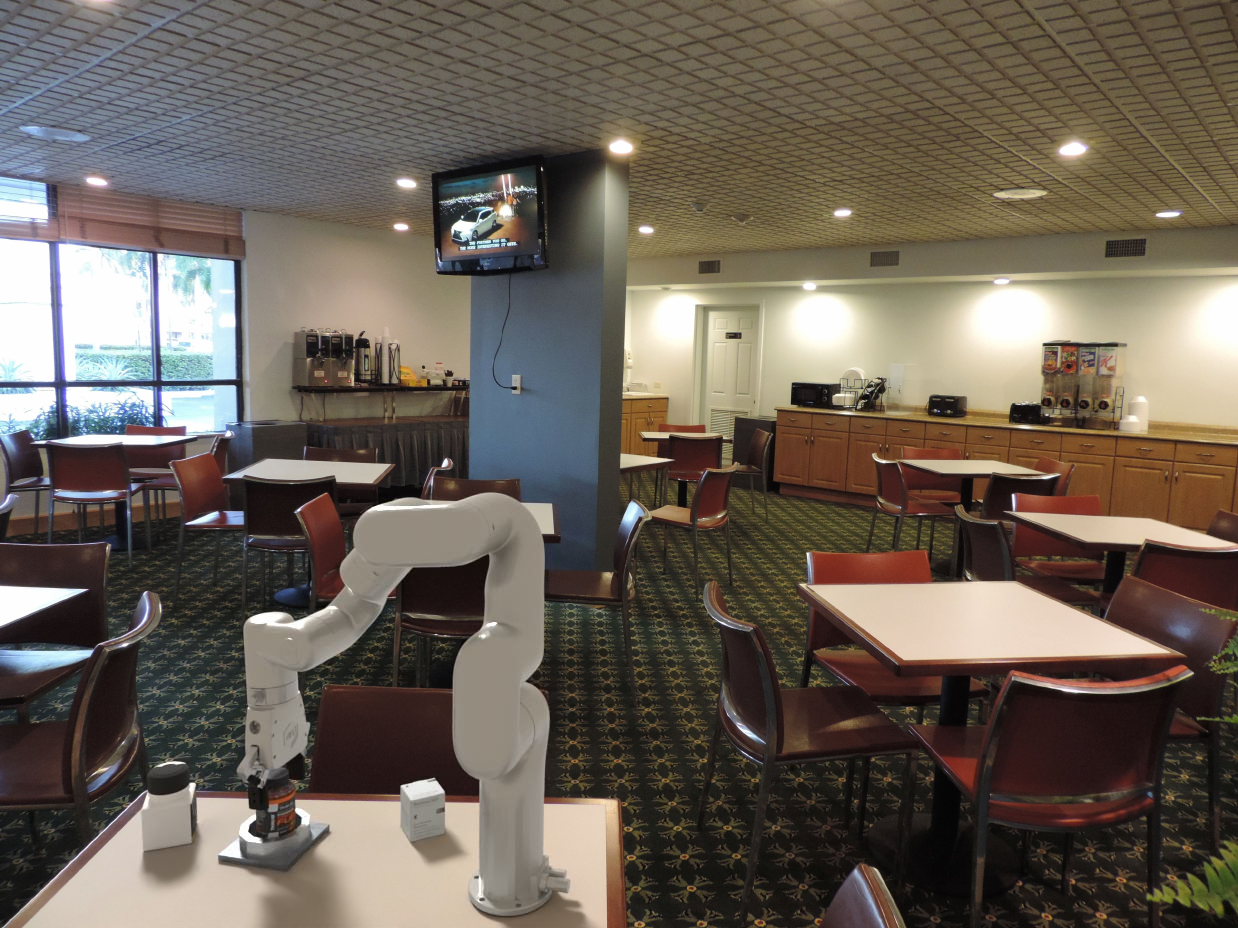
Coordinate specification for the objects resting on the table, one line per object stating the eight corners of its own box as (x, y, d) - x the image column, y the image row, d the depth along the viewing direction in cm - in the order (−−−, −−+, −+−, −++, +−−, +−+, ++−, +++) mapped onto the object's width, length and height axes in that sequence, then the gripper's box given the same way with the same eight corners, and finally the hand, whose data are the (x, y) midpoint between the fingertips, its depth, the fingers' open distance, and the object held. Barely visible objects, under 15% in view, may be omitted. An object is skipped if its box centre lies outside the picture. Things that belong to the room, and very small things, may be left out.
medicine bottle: (192, 843, 133) (190, 773, 131) (142, 852, 130) (139, 780, 129) (197, 821, 139) (195, 754, 138) (149, 828, 137) (146, 760, 135)
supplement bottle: (281, 851, 129) (280, 783, 128) (248, 846, 130) (246, 779, 129) (303, 831, 135) (302, 766, 134) (271, 826, 136) (269, 762, 135)
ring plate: (329, 829, 138) (329, 809, 137) (286, 871, 126) (286, 850, 126) (266, 820, 140) (265, 800, 140) (218, 860, 128) (217, 839, 128)
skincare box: (410, 843, 134) (409, 800, 133) (399, 825, 139) (399, 784, 139) (446, 833, 137) (445, 791, 137) (434, 816, 143) (434, 776, 142)
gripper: (259, 714, 121) (265, 824, 123) (324, 673, 138) (329, 770, 139) (214, 710, 122) (221, 819, 124) (284, 670, 139) (289, 766, 141)
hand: (278, 793), depth 132 cm, fingers open, 9 cm apart
